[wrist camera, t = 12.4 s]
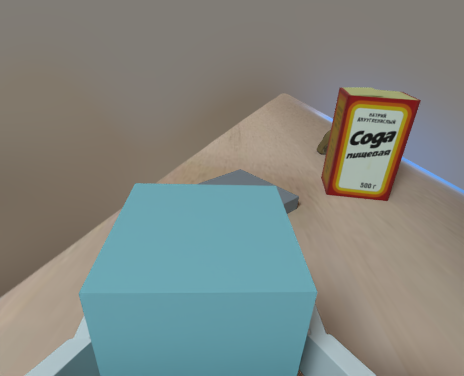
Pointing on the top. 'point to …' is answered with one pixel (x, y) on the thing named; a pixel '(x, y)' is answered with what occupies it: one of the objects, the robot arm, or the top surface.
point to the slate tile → (249, 179)
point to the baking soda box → (367, 142)
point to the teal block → (199, 285)
